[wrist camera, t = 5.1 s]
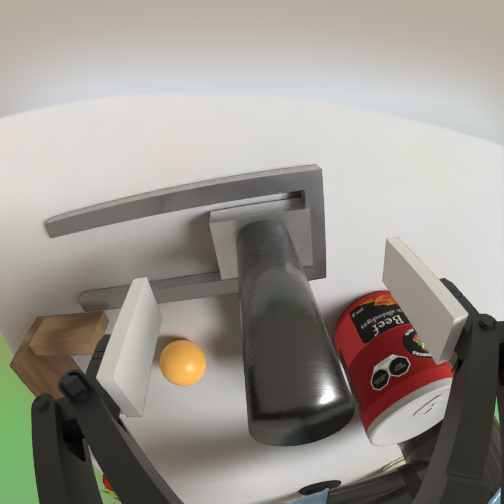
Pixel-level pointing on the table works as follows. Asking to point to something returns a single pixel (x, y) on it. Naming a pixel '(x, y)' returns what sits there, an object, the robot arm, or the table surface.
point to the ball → (182, 363)
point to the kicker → (281, 324)
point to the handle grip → (319, 487)
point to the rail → (190, 197)
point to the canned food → (390, 371)
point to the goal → (56, 349)
